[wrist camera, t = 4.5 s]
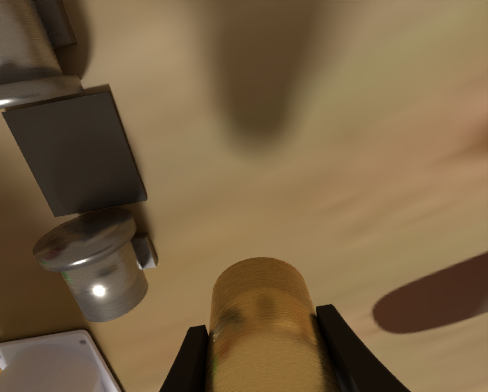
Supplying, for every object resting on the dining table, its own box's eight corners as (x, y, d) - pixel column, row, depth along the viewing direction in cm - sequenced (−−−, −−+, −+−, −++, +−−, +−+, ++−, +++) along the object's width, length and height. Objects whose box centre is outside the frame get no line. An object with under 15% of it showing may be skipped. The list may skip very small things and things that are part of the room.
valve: (310, 323, 14) (383, 563, 7) (222, 336, 15) (214, 584, 8) (302, 249, 13) (390, 476, 6) (202, 266, 13) (167, 506, 6)
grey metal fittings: (170, 263, 21) (152, 321, 16) (89, 277, 21) (48, 339, 16) (69, -23, 14) (-15, -69, 9) (-51, 2, 14) (-194, -30, 9)
